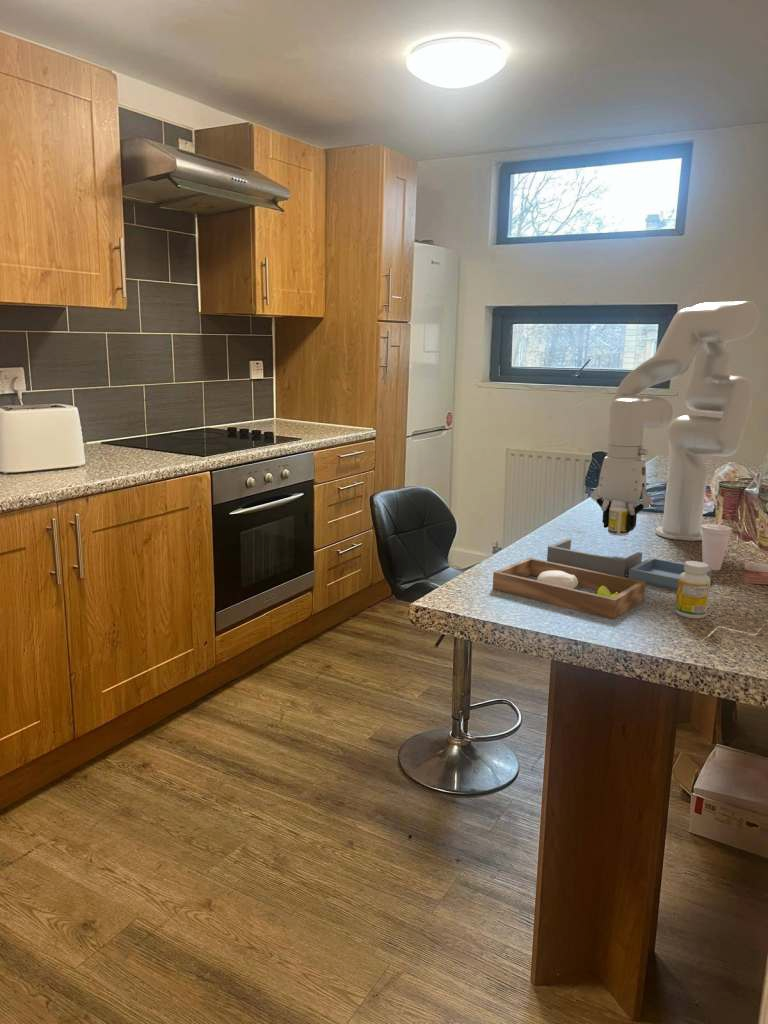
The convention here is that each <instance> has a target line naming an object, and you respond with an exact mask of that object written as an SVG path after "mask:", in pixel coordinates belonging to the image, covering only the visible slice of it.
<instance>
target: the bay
mask: <svg viewBox="0 0 768 1024" xmlns="http://www.w3.org/2000/svg"><path fill="white" fill-rule="evenodd" d="M571 545H572V539H569V538H566V539H564V540H561V541H558V542H556V543H553V544H551V545H549V546H547V555H546V561H548V562H553V563H558V564H562V565H567V566H572V567H577V568H582V569H586V570H591V571H596V572H601V573H605V574H610V575H615V576H620V577H624V578H627V576H629V569H630V568H632V567H634V566H636V565H638V564H640V563H641V562H643V560H642V558H643V552H640V551H637V552H635V553H633V554H631V555H629V556H628V557H626V558H624V559H619V558H614V557H609V556H603V555H599V554H595V553H594V554H593V553H588V552H585V551H584V552H583V551H579V550H574V549H571V547H572V546H571Z"/></svg>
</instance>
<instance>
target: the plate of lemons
mask: <svg viewBox="0 0 768 1024" xmlns="http://www.w3.org/2000/svg"><path fill="white" fill-rule="evenodd" d="M593 594H598V595H602V596H606V597H611V598H613V597H615V596H616V595H618V592H616V593H610V591H609V590H608V589H607V588H606V587H605V586H601V587H600V588H599V589H598V590H597V592H594V593H593Z"/></svg>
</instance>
